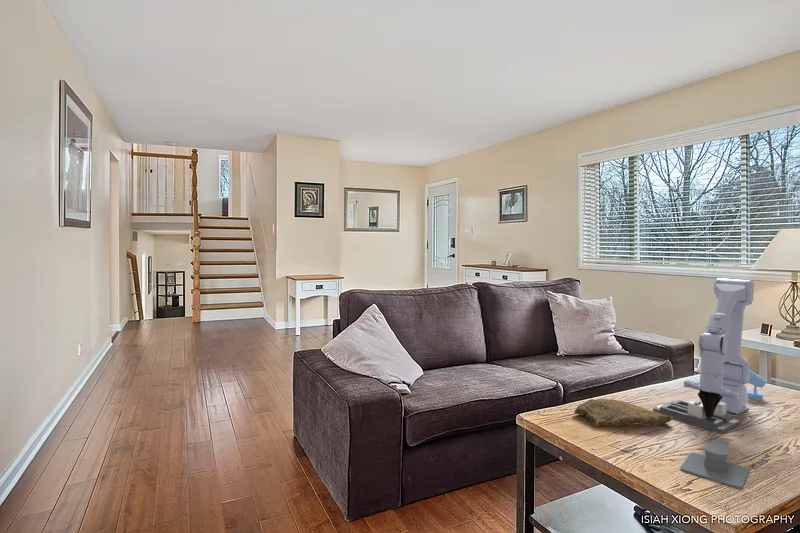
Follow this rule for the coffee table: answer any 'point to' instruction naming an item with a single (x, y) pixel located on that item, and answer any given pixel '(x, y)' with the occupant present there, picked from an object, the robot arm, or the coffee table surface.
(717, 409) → the tab
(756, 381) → the spotlight
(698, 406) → the tab
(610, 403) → the rock
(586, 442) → the coffee table surface
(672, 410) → the switch bank
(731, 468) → the shower valve
